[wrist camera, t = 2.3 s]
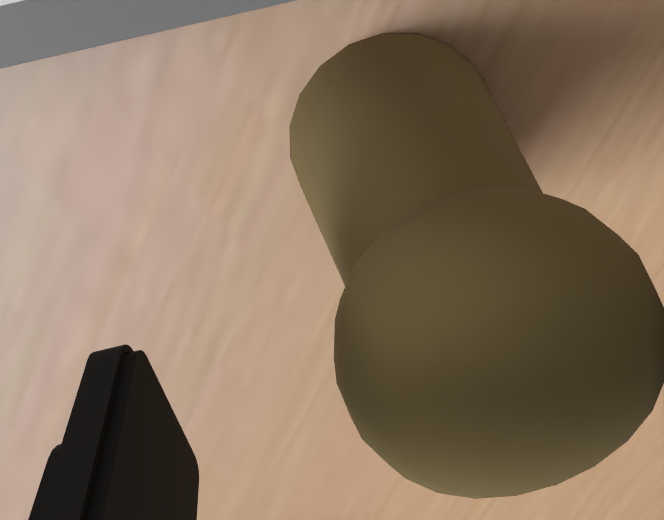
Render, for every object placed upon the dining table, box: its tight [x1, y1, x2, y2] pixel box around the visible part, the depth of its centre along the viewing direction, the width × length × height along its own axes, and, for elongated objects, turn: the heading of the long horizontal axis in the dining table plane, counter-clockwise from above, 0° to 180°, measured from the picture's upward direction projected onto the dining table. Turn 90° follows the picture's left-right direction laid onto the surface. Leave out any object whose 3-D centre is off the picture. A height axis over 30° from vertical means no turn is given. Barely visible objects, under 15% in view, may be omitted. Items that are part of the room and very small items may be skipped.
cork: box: [290, 33, 664, 499], centre depth 13 cm, size 6×6×11 cm
